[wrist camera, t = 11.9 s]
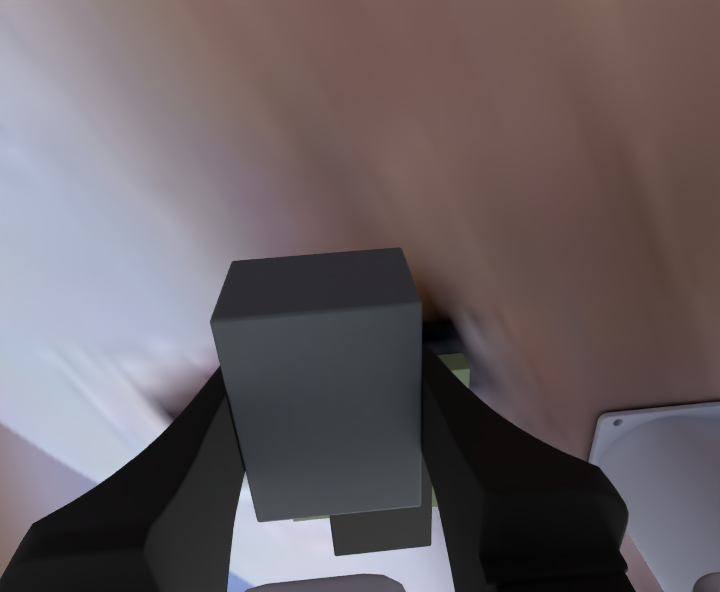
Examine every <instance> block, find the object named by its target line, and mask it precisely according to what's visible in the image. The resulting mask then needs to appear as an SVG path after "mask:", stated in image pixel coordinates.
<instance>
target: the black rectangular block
mask: <svg viewBox="0 0 720 592" xmlns="http://www.w3.org/2000/svg"><path fill="white" fill-rule="evenodd" d="M329 517H330V524H331V531H332V539H333V546H334V553H335V556H342V555H351V554H360V553H370V552H379V551H388V550H397V549H406V548H415V547H425V546H431V521H432V483H431V480H430V477H429V473H428V470H427V467H426V464H425V461H424V458H423V455H422V451H421V505H420V506H417V507H407V508H397V509H387V510H377V511H367V512H357V513H347V514H338V515H329Z"/></svg>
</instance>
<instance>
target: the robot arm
mask: <svg viewBox="0 0 720 592" xmlns="http://www.w3.org/2000/svg"><path fill="white" fill-rule="evenodd" d="M421 451H422V455H423V458H424V461H425V464H426V467H427V470H428V473H429V477H430V480H431V483H432V486H433V489H434V492H435V496H436V500H437V504H438V508H439V513H440V517H441V522H442V527H443V532H444V537H445V542H446V547H447V552H448V557H449V562H450V567H451V572H452V577H453V583H454V588H455V592H636V591H635V590H634V588H633V586H632V584H631V582H630V581H629V579H628V577H627V575H626V574H625V572H627V570H628V566H627V563H626V561H625V560H624V558H623V556H622V555H621V553H620V551H619V550H620V546H621V543H622V540H623V537H624V534H625V530H627V532H628V533H629V535H630V537H631V538H632V540H633V542H634V543H635V545H636V546H637V548H638V550H639V551H640V553H641V555H642V556H643V558H644V560H645V561H646V563H647V564H648V566H649V568H650V569H651V571H652V573H653V574H654V576H655V577H656V579H657V581H658V582H659V584H660V586H661V587H662V589H663V591H664V592H720V401H719V402H709V403H700V404H690V405H680V406H670V407H660V408H650V409H640V410H630V411H620V412H610V413H604V414H602V415H601V416H600V417H599V419H598V422H597V426H596V431H595V435H594V439H593V444H592V448H591V452H590V457H589V461H588V462H586V461H584V460H581V459H579V458H576V457H574V456H571V455H569V454H567V453H564V452H562V451H560V450H558V449H556V448H554V447H552V446H550V445H548V444H546V443H544V442H542V441H541V440H539V439H537V438H535V437H533V436H532V435H530V434H528V433H527V432H525V431H523V430H522V429H520V428H518V427H517V426H515V425H514V424H512V423H511V422H509V421H508V420H506V419H505V418H503V417H502V416H501V415H499V414H498V413H497V412H495V411H494V410H493V409H491V408H490V407H489V406H488V405H486V404H485V403H484V402H483V401H482V400H481V399H479V398H478V397H477V396H476V395H475V394H474V393H473V392H472V391H471V390H470V389H468V388H467V387H466V386H465V385H464V384H463V383H462V382H461V381H460V380H459V379H458V378H457V377H456V376H455V374H454V373H453V372H452V371H451V370H450V369H449V368H448V367H447V366H446V365H445V364H444V362H443V361H442V360H441V359H440V358H439V357H438V355H437V354H436V353H435V352H434V350H433V349H432V348H431V347H430V346H422V435H421ZM244 473H245V467H244V463H243V458H242V454H241V450H240V446H239V442H238V437H237V433H236V429H235V425H234V421H233V416H232V412H231V408H230V404H229V400H228V395H227V391H226V387H225V383H224V379H223V374H222V370H221V366H219V367H218V369H217V370H216V371H215V372H214V374H213V375H212V376H211V378H210V379H209V380H208V381H207V383H206V384H205V385H204V386H203V388H202V389H201V390H200V391H199V393H198V394H197V395H196V396H195V397H194V399H193V400H192V401H191V402H190V403H189V405H188V406H187V407H186V408H185V409H184V410H183V412H182V413H181V414H180V415H179V416H178V417H177V418H176V419H175V420H174V421H173V422H172V424H171V425H170V426H169V427H168V428H167V429H166V430H165V431H164V432H163V433H162V434H161V435H160V436H159V437H158V438H157V439H156V440H155V441H153V442H152V443H151V444H150V445H149V446H148V447H147V448H146V449H144V450H143V451H142V452H141V453H140V454H139V455H137V456H136V457H135V458H134V459H132V460H131V461H130V462H128V463H127V464H126V465H125V466H123V467H122V468H121V469H119V470H118V471H117V472H116V473H114V474H113V475H112V476H110V477H109V478H107V479H106V480H105V481H103V482H102V483H100V484H99V485H97V486H96V487H94V488H93V489H91V490H90V491H88V492H87V493H85V494H83V495H82V496H80V497H79V498H77V499H75V500H74V501H72V502H71V503H69V504H67V505H65V506H64V507H62V508H60V509H58V510H56V511H55V512H53V513H51V514H49V515H48V516H46V517H44V518H42V519H40V520H39V521H37V522H35V523H33V524H32V526H31V527H30V529H29V530H28V532H27V533H26V535H25V537H24V538H23V540H22V541H21V543H20V545H19V547H18V549H17V550H16V552H15V554H14V555H13V557H12V559H11V561H10V563H9V565H8V566H7V568H6V570H5V572H4V573H3V575H2V577H1V579H0V592H227V584H228V575H229V564H230V554H231V545H232V536H233V527H234V521H235V515H236V510H237V505H238V501H239V496H240V491H241V487H242V482H243V478H244ZM245 592H405V590H404V588H403V586H402V584H400V583H399V582H397V581H395V580H393V579H391V578H389V577H387V576H385V575H378V574H356V575H346V576H337V577H327V578H318V579H308V580H299V581H289V582H280V583H270V584H265V585H261V586H257V587H254V588H250V589H247V590H246V591H245Z"/></svg>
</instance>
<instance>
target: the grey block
mask: <svg viewBox="0 0 720 592" xmlns="http://www.w3.org/2000/svg"><path fill="white" fill-rule="evenodd" d="M210 324H211V328H212V333H213V337H214V341H215V345H216V349H217V354H218V358H219V362H220V366H221V370H222V374H223V379H224V383H225V387H226V391H227V395H228V400H229V404H230V408H231V412H232V416H233V421H234V425H235V429H236V433H237V437H238V442H239V446H240V450H241V454H242V458H243V463H244V467H245V471H246V475H247V479H248V483H249V488H250V492H251V496H252V500H253V504H254V509H255V513H256V517H257V520H258V522H269V521H278V520H288V519H298V518H308V517H318V516H328V515H338V514H347V513H357V512H367V511H377V510H387V509H397V508H407V507H417V506H420V505H421V435H422V302H421V300H420V297H419V294H418V292H417V289H416V286H415V283H414V281H413V278H412V275H411V273H410V270H409V267H408V265H407V262H406V259H405V257H404V254H403V251H402V249H401V248H399V247H398V248H386V249H374V250H362V251H349V252H337V253H325V254H313V255H300V256H288V257H276V258H264V259H251V260H239V261H233V262H232V263H231V266H230V268H229V271H228V274H227V276H226V279H225V282H224V285H223V287H222V290H221V293H220V295H219V298H218V301H217V304H216V306H215V309H214V312H213V314H212V317H211V320H210Z"/></svg>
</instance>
